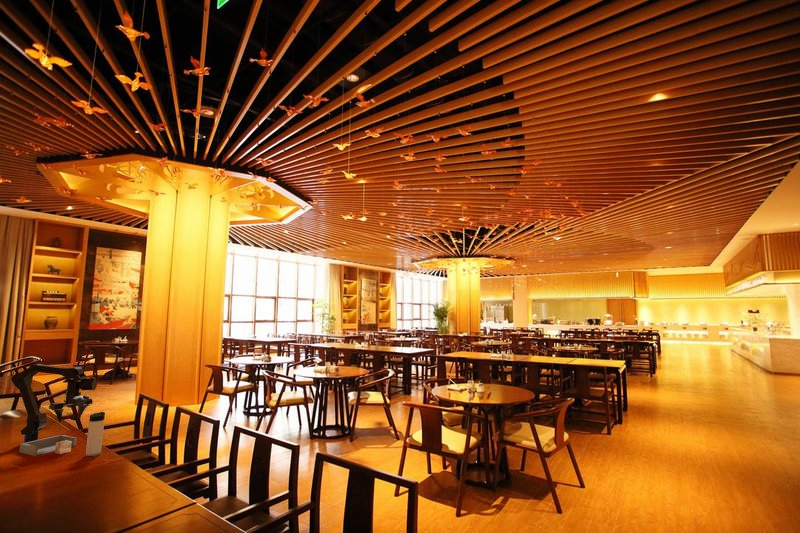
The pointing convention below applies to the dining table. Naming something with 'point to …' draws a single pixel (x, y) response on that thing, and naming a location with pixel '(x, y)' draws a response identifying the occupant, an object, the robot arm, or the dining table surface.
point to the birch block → (63, 447)
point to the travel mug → (95, 434)
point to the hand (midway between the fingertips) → (69, 420)
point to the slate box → (44, 445)
